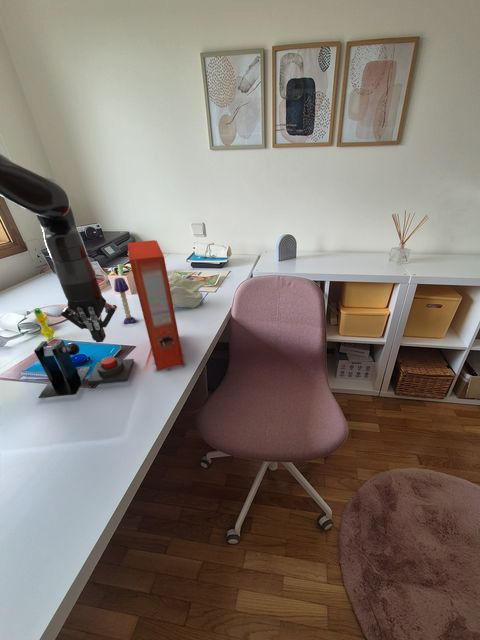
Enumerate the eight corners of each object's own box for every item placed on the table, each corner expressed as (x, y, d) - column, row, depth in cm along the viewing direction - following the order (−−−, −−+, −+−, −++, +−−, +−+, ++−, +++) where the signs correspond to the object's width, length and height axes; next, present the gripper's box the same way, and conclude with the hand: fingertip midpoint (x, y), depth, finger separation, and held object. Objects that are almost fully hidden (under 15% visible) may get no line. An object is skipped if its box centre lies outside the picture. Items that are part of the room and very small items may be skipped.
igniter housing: (89, 387, 81) (84, 376, 79) (100, 367, 88) (95, 356, 86) (128, 384, 82) (124, 372, 80) (135, 364, 89) (131, 353, 87)
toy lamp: (132, 317, 115) (119, 275, 106) (140, 320, 113) (128, 277, 104) (121, 323, 111) (108, 280, 102) (130, 326, 109) (117, 282, 100)
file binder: (176, 336, 103) (156, 239, 85) (185, 364, 89) (163, 255, 71) (151, 341, 100) (126, 243, 82) (157, 370, 87) (127, 260, 69)
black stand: (59, 372, 87) (41, 334, 80) (92, 369, 88) (76, 331, 81) (40, 400, 77) (16, 360, 70) (77, 397, 78) (57, 356, 71)
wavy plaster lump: (192, 315, 130) (201, 280, 128) (198, 320, 119) (208, 282, 116) (149, 305, 123) (157, 267, 120) (151, 310, 111) (160, 268, 108)
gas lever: (69, 355, 88) (68, 343, 88) (82, 354, 88) (81, 342, 88) (41, 359, 75) (39, 344, 75) (56, 357, 75) (55, 343, 75)
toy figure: (47, 336, 104) (31, 304, 98) (58, 334, 105) (44, 302, 99) (45, 345, 99) (28, 313, 92) (57, 343, 100) (42, 310, 94)
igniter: (101, 369, 81) (98, 364, 80) (105, 362, 84) (103, 357, 83) (114, 368, 82) (112, 363, 81) (118, 361, 85) (116, 356, 84)
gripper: (39, 284, 66) (68, 350, 75) (102, 281, 67) (123, 346, 77) (54, 273, 72) (79, 335, 81) (111, 270, 73) (130, 331, 83)
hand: (100, 340), depth 79 cm, fingers closed
